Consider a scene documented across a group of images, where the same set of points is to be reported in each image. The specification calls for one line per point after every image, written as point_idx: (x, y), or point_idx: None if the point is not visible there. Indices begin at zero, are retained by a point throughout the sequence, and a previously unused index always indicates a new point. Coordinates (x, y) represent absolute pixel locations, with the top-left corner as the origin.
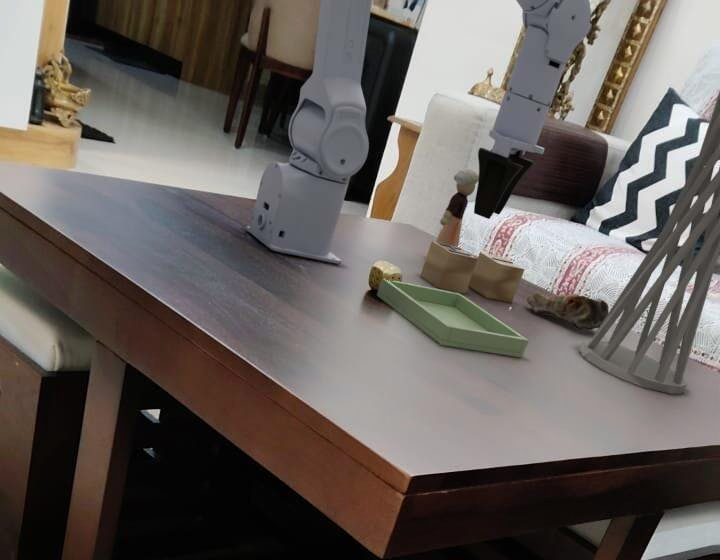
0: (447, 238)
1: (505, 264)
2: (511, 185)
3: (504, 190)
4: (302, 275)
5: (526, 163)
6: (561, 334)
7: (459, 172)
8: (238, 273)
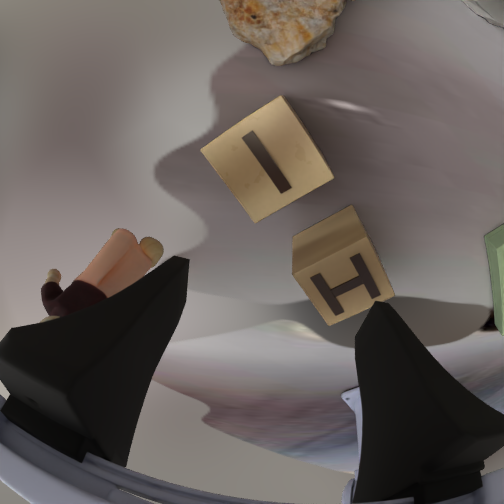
0: (127, 272)
1: (315, 157)
2: (144, 325)
3: (435, 365)
4: (476, 373)
5: (86, 400)
6: (421, 18)
7: None
8: (498, 390)
